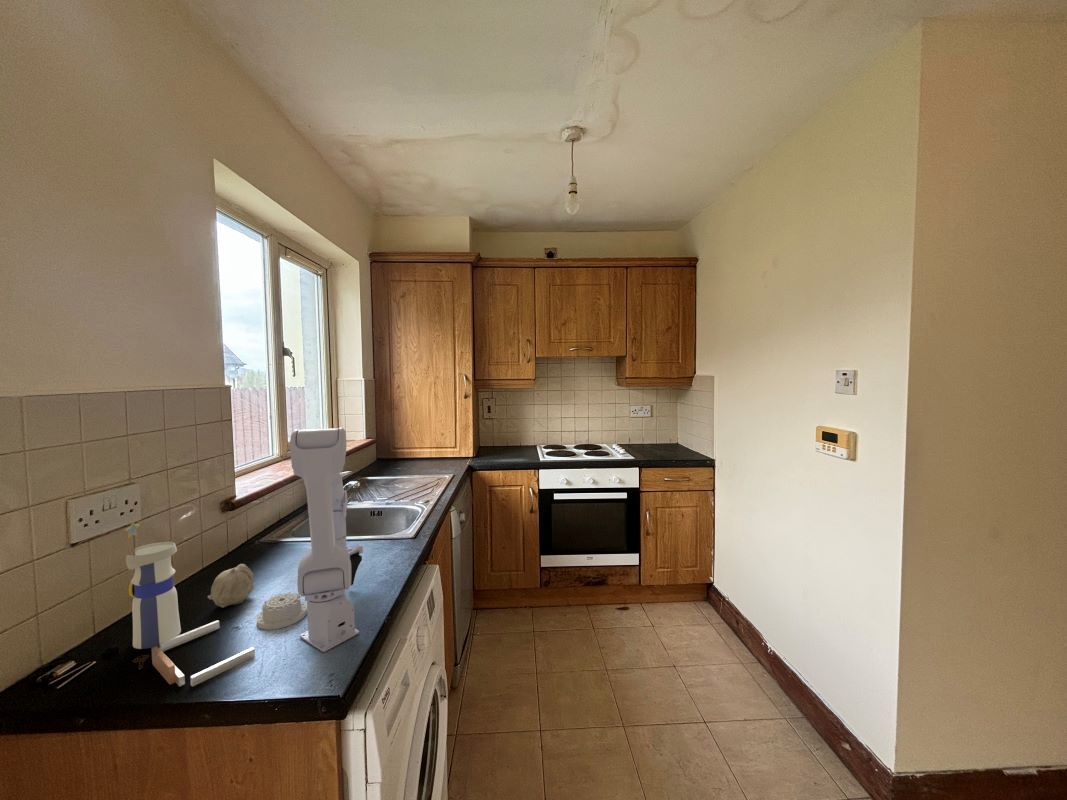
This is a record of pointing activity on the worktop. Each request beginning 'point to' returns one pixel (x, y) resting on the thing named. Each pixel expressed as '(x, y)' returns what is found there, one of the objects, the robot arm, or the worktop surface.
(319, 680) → the worktop surface
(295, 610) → the mechanical component
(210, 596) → the garlic bulb
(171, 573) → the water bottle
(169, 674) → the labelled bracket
